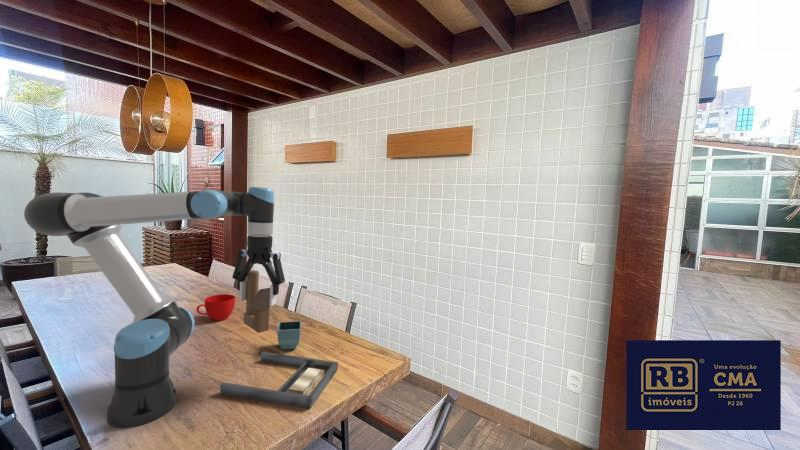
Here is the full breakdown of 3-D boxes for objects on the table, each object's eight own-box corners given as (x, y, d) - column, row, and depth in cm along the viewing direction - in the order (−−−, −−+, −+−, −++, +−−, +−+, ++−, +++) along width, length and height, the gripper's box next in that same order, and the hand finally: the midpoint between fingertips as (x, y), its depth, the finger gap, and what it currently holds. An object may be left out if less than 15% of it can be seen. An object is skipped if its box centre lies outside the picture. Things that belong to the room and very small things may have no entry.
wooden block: (258, 333, 102) (260, 277, 101) (243, 323, 109) (244, 270, 108) (269, 330, 105) (271, 275, 104) (253, 320, 112) (255, 269, 111)
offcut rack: (310, 408, 93) (310, 398, 93) (220, 394, 98) (220, 384, 98) (337, 370, 115) (337, 362, 115) (262, 359, 120) (262, 351, 119)
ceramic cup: (190, 321, 152) (190, 300, 151) (226, 311, 166) (226, 292, 165) (203, 328, 144) (203, 306, 144) (240, 317, 159) (240, 297, 158)
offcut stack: (302, 401, 97) (302, 392, 97) (287, 399, 98) (287, 389, 98) (324, 374, 113) (324, 366, 113) (310, 372, 114) (311, 363, 113)
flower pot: (276, 352, 125) (276, 330, 125) (278, 343, 134) (279, 321, 133) (300, 351, 128) (300, 329, 127) (300, 341, 136) (301, 320, 136)
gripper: (298, 237, 106) (295, 303, 108) (236, 231, 110) (234, 295, 112) (286, 239, 99) (283, 310, 101) (220, 233, 103) (219, 301, 105)
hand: (257, 302), depth 106 cm, fingers closed on wooden block, 10 cm apart
